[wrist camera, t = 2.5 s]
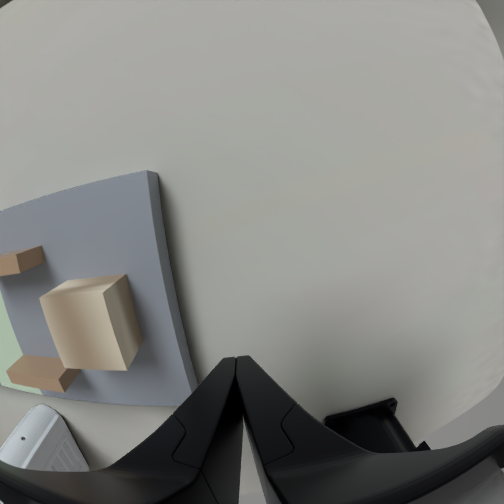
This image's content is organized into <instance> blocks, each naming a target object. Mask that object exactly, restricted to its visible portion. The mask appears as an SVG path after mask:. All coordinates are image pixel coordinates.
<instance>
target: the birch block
mask: <svg viewBox="0 0 504 504" xmlns="http://www.w3.org/2000/svg"><path fill="white" fill-rule="evenodd" d="M39 299H40V303H41V306H42V309H43V312H44V315H45V318H46V321H47V324H48V327H49V330H50V333H51V335H52V338H53V341H54V343H55V346H56V349H57V351H58V353H59V356H60V358H61V361H62V363H63V365H64V368H73V369H89V370H121V371H127V370H128V368H129V366H130V365H131V363H132V361H133V359H134V357H135V355H136V354H137V352H138V350H139V348H140V346H141V345H142V343H143V338H142V335H141V331H140V328H139V324H138V320H137V317H136V313H135V309H134V305H133V301H132V297H131V293H130V289H129V284H128V280H127V276H126V274H119V275H110V276H101V277H93V278H84V279H75V280H67V281H66V282H64V283H62V284H61V285H59V286H57V287H56V288H54V289H53V290H51V291H49V292H48V293H46V294H45V295H43V296H41V297H40V298H39Z"/></svg>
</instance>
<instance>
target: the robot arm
mask: <svg viewBox="0 0 504 504" xmlns="http://www.w3.org/2000/svg"><path fill="white" fill-rule="evenodd" d="M396 407H397V400H396V399H395V398H390V399H387V400H384V401H381V402H378V403H375V404H372V405H368V406H365V407H361V408H358V409H354V410H350V411H347V412H343V413H339V414H335V415H330V416H327V417H326V418H325V419H324V421H323V424H322V423H321V422H319V421H318V420H316V419H315V418H314V417H312V416H311V415H310V414H309V413H308V412H307V411H305V410H304V409H303V408H302V407H301V406H300V405H299V404H297V402H296V401H295V400H294V399H292V398H291V397H290V396H289V395H288V394H287V393H286V392H285V391H284V390H283V389H282V388H281V387H280V386H279V385H278V384H277V383H276V382H275V381H274V380H273V379H272V378H271V377H270V376H269V375H268V374H267V373H266V372H265V371H264V370H263V369H262V368H261V367H260V366H259V365H258V364H257V363H256V362H255V361H254V360H253V359H252V358H251V357H250V356H249V355H246V356H238V357H237V358H235V357H228V358H223V359H222V360H221V361H220V362H219V363H218V365H217V366H216V367H215V368H214V369H213V370H212V371H211V372H210V374H209V375H208V376H207V377H206V378H205V379H204V380H203V381H202V382H201V384H200V385H199V386H198V387H197V388H196V389H195V390H194V391H193V392H192V393H191V394H190V396H189V397H188V398H187V399H186V400H185V401H184V402H183V403H182V404H181V405H180V406H179V407H178V409H177V410H176V411H175V412H174V413H173V415H171V416H170V417H169V418H168V419H167V420H166V421H165V422H164V423H163V424H162V425H161V426H160V427H159V428H158V429H157V430H156V431H155V432H154V433H152V434H151V435H150V436H149V437H148V438H146V439H145V440H144V441H143V442H142V443H140V444H139V445H138V446H136V447H135V448H134V449H133V450H131V451H130V452H129V453H127V454H126V455H125V456H123V457H122V458H121V459H119V460H118V461H117V462H115V463H114V464H112V465H111V466H109V467H107V468H104V469H101V470H97V471H86V472H60V471H39V470H30V469H24V468H19V467H15V466H12V465H10V464H7V463H5V462H3V461H2V460H0V501H1V502H2V503H3V504H238V503H239V487H240V471H241V455H242V439H243V417H244V422H245V426H246V430H247V434H248V438H249V442H250V446H251V450H252V453H253V457H254V461H255V464H256V468H257V472H258V475H259V479H260V482H261V486H262V489H263V493H264V496H265V499H266V503H267V504H504V470H503V468H504V425H498V426H492V427H489V428H487V429H485V430H483V431H482V432H480V433H479V434H477V435H476V436H474V437H473V438H471V439H469V440H467V441H465V442H463V443H460V444H458V445H455V446H451V447H448V448H443V449H437V450H431V449H430V447H429V446H428V445H427V444H426V442H425V441H423V442H422V443H421V444H419V446H418V447H417V448H416V447H415V445H414V444H413V442H412V441H411V439H410V437H409V436H408V434H407V433H406V431H405V430H404V428H403V427H402V425H401V424H400V422H399V421H398V419H397V418H396V416H395V411H396ZM329 421H330V422H329Z"/></svg>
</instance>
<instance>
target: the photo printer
mask: <svg viewBox="0 0 504 504" xmlns="http://www.w3.org/2000/svg"><path fill="white" fill-rule="evenodd" d="M0 460H2V461H3V462H5V463H7V464H10V465H12V466H15V467H19V468H24V469H30V470H39V471H60V472H86V471H89V467H88V464H87V462H86V461H85V459H84V457H83V455H82V453H81V452H80V450H79V448H78V446H77V444H76V442H75V441H74V439H73V437H72V435H71V433H70V431H69V429H68V427H67V425H66V423H65V422H64V420H63V418H62V417H61V416H60V415H59V414H58V412H57V411H55V410H54V409H52V408H50V407H49V406H46V405H38V406H37V407H35V406H34V407H32V408H31V409H30V410H29V412H28V413H27V414H26V415H25V416H24V418H23V419H22V420H21V422H20V423H19V424H18V425H17V427H16V428H15V429H14V431H13V432H12V433H11V435H10V436H9V437H8V439H7V440H6V442H5V443H4V444H3V445H2V447H1V448H0ZM0 502H1V501H0ZM1 503H2V502H1ZM2 504H3V503H2Z"/></svg>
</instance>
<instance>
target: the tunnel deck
mask: <svg viewBox="0 0 504 504" xmlns="http://www.w3.org/2000/svg"><path fill="white" fill-rule="evenodd" d="M119 274H126V276H127V280H128V284H129V289H130V293H131V297H132V301H133V305H134V309H135V313H136V317H137V320H138V324H139V328H140V331H141V335H142V338H143V343H142V345H141V346H140V348H139V350H138V352H137V354H136V355H135V357H134V359H133V361H132V363H131V365H130V366H129V368H128V370H127V371H121V370H89V369H73V368H64V365H63V363H62V361H61V358H60V356H59V353H58V351H57V349H56V346H55V343H54V341H53V338H52V335H51V333H50V330H49V327H48V324H47V321H46V318H45V315H44V312H43V309H42V306H41V303H40V299H39V298H40V297H41V296H43V295H45V294H46V293H48V292H49V291H51V290H53V289H54V288H56V287H57V286H59V285H61V284H62V283H64V282H66V281H67V280H75V279H84V278H93V277H101V276H110V275H119ZM0 385H2V386H6V387H9V388H14V389H18V390H22V391H26V392H31V393H36V394H41V395H46V396H52V397H58V398H64V399H71V400H79V401H87V402H96V403H107V404H121V405H143V406H180V405H181V404H182V403H183V402H184V401H185V400H186V399H187V398H188V397H189V396H190V394H191V393H192V392H193V391H194V390H195V389H196V388H197V387H198V383H197V380H196V376H195V372H194V369H193V365H192V361H191V357H190V353H189V349H188V345H187V341H186V337H185V333H184V328H183V324H182V319H181V315H180V310H179V306H178V301H177V296H176V291H175V286H174V281H173V276H172V270H171V265H170V259H169V253H168V247H167V241H166V235H165V229H164V222H163V215H162V208H161V200H160V192H159V184H158V175H157V173H156V172H152V171H147V170H146V171H141V172H136V173H131V174H127V175H122V176H118V177H113V178H109V179H105V180H101V181H97V182H93V183H89V184H85V185H81V186H77V187H74V188H70V189H67V190H63V191H60V192H56V193H53V194H50V195H46V196H43V197H40V198H37V199H34V200H31V201H28V202H25V203H22V204H19V205H16V206H13V207H11V208H8V209H5V210H2V211H0Z"/></svg>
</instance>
